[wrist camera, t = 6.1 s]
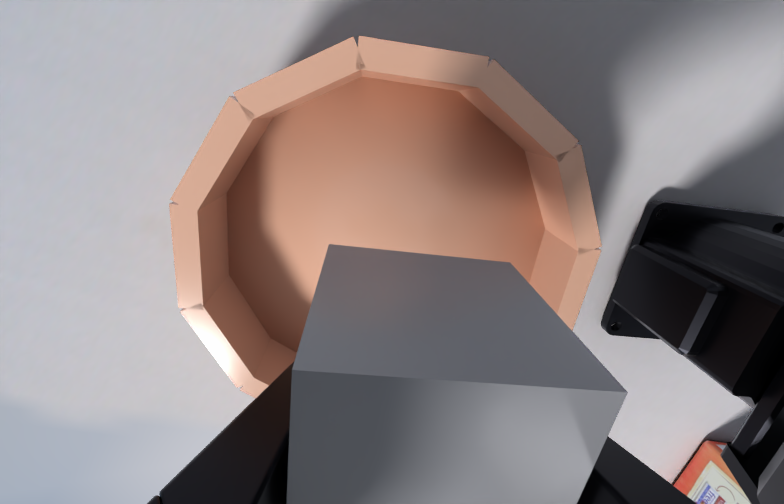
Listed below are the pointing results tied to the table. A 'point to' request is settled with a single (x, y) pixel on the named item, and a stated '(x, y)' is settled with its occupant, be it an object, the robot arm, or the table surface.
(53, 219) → the table surface
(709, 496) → the cracker box
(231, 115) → the bowl
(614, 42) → the table surface
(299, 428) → the grey rectangular prism
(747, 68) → the table surface
